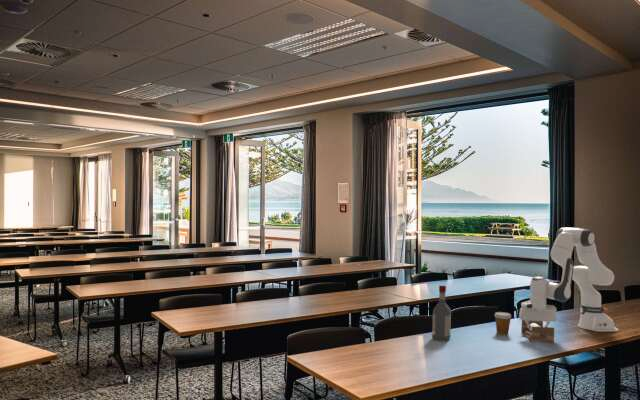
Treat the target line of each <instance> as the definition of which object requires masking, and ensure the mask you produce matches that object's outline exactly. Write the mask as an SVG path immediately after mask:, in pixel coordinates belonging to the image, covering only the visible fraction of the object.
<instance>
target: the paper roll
mask: <svg viewBox="0 0 640 400" xmlns="http://www.w3.org/2000/svg"><path fill="white" fill-rule="evenodd" d="M530 325H531V328H528V329H529V331H530V332H532V327H540V326H539V325H537V324H536V323H531V324H530Z"/></svg>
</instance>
